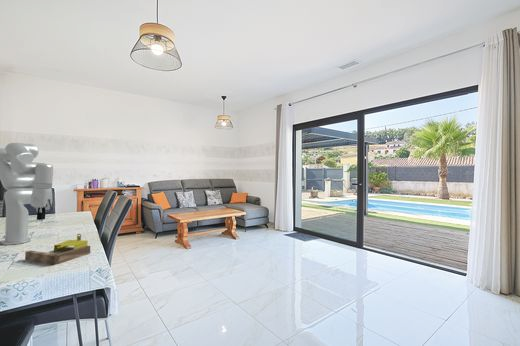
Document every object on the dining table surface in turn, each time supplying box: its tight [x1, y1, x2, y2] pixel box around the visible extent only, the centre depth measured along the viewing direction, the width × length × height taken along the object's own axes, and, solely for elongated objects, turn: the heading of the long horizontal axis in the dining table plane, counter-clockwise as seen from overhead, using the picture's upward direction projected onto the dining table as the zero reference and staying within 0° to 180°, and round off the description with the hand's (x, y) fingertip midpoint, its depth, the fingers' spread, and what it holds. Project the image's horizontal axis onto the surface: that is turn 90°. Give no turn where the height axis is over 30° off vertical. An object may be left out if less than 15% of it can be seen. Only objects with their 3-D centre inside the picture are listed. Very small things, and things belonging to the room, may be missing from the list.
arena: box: [24, 245, 91, 266], centre depth 124 cm, size 19×18×4 cm
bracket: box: [53, 233, 88, 253], centre depth 134 cm, size 16×8×15 cm
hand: (40, 219), depth 136 cm, fingers closed
